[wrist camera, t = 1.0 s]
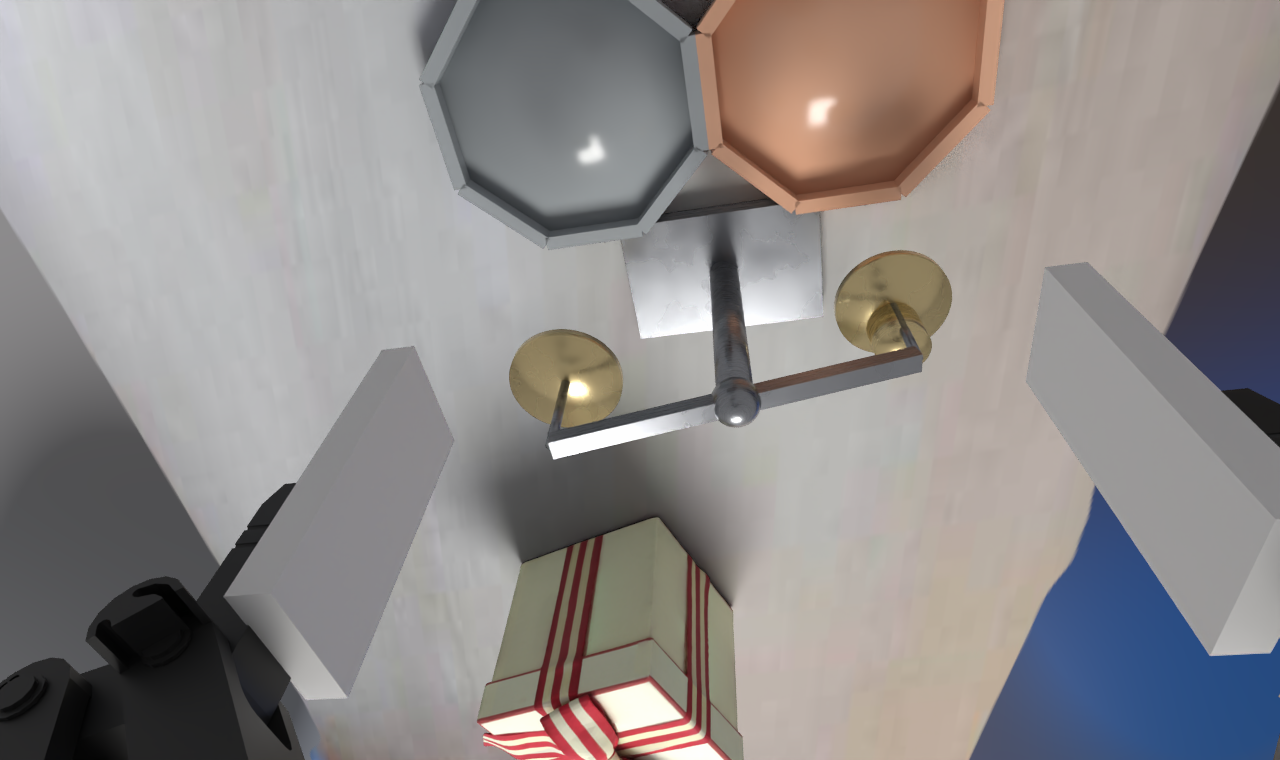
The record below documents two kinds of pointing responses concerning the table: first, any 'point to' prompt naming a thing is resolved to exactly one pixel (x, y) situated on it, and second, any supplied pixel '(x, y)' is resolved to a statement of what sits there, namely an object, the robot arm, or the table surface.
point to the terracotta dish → (844, 92)
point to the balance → (731, 323)
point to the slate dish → (567, 114)
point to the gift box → (615, 656)
